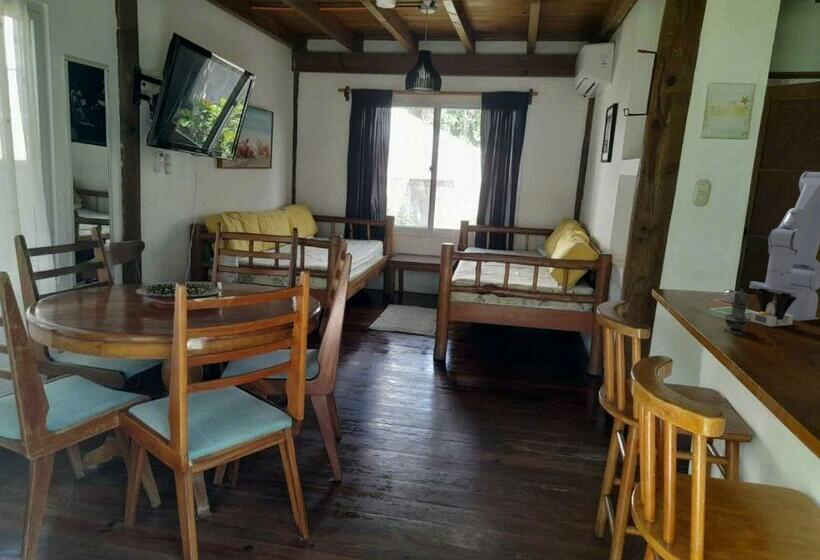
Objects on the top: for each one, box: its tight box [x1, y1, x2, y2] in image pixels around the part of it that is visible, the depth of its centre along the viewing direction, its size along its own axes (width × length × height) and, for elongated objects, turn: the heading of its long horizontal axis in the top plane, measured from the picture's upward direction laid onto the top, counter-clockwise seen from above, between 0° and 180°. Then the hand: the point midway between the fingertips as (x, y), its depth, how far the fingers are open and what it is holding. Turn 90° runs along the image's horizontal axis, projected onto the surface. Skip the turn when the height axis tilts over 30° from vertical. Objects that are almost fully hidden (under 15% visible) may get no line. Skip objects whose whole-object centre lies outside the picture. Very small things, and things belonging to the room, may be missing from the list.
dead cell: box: [723, 289, 737, 304], centre depth 165 cm, size 4×4×6 cm
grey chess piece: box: [723, 287, 751, 336], centre depth 140 cm, size 6×6×12 cm
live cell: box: [765, 300, 779, 324], centre depth 151 cm, size 4×4×6 cm
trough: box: [706, 307, 757, 321], centre depth 157 cm, size 12×7×2 cm, turn 111°
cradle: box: [749, 311, 794, 327], centre depth 151 cm, size 9×6×4 cm, turn 111°
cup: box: [710, 299, 748, 309], centre depth 165 cm, size 7×7×3 cm
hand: (771, 317), depth 151 cm, fingers closed on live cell, 4 cm apart
